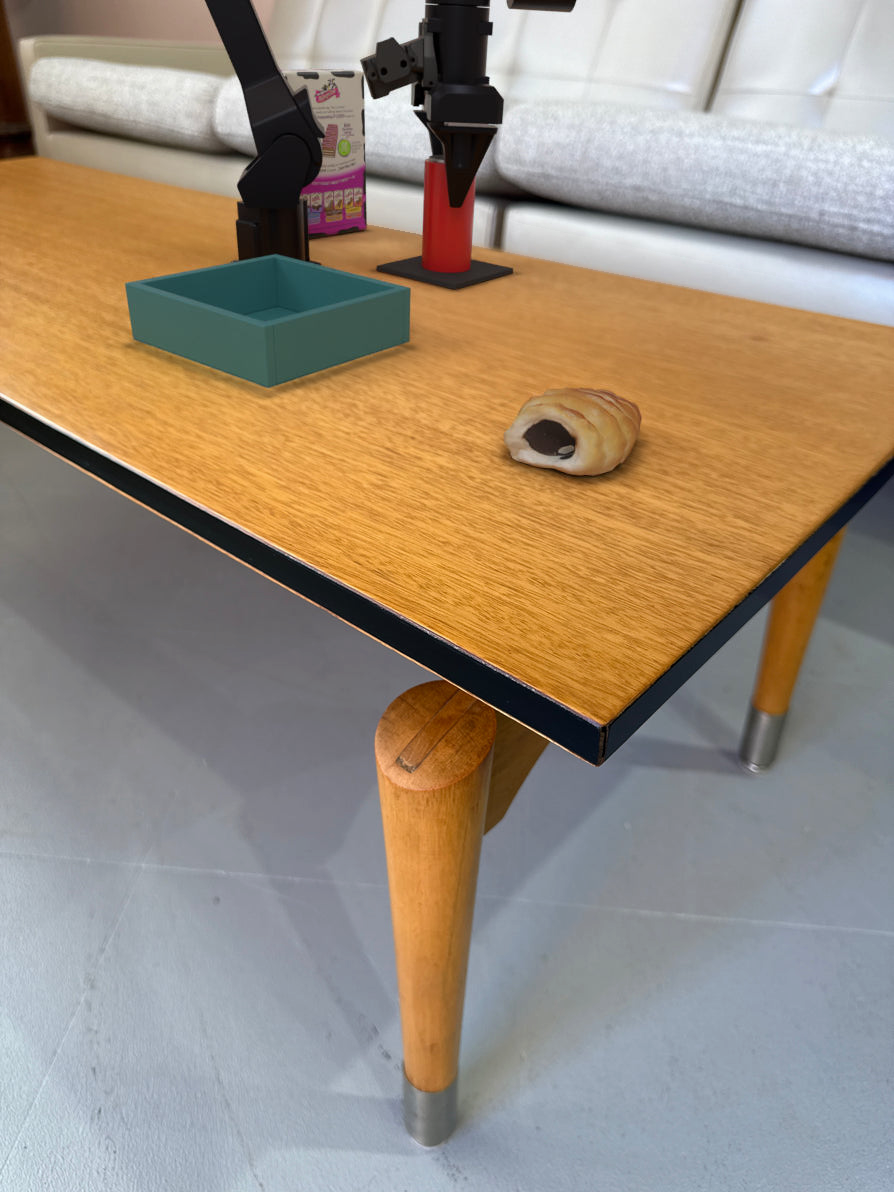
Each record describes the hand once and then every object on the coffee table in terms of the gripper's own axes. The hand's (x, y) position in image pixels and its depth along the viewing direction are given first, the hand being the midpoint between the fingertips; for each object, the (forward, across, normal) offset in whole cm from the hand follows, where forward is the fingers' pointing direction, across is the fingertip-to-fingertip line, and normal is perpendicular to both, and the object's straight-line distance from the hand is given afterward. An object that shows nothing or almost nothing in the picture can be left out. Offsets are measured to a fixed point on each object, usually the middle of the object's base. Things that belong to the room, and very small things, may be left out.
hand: (449, 199), depth 85 cm
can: (+6, 0, 0) cm, 6 cm away
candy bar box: (+7, -18, -13) cm, 23 cm away
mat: (+7, 0, 0) cm, 7 cm away
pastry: (+7, +44, +2) cm, 45 cm away
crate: (+7, +25, -16) cm, 30 cm away
